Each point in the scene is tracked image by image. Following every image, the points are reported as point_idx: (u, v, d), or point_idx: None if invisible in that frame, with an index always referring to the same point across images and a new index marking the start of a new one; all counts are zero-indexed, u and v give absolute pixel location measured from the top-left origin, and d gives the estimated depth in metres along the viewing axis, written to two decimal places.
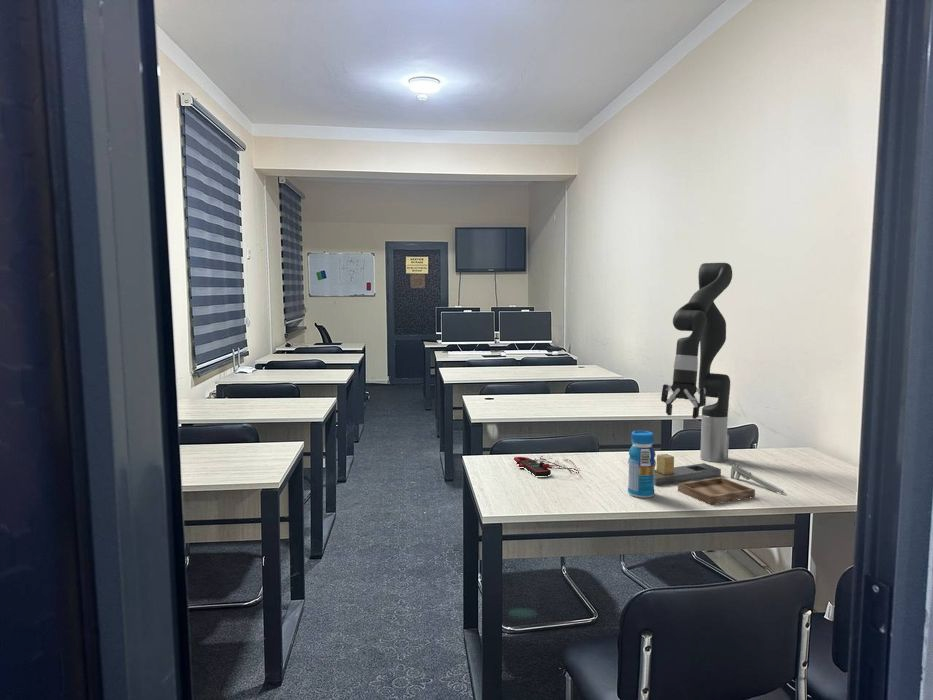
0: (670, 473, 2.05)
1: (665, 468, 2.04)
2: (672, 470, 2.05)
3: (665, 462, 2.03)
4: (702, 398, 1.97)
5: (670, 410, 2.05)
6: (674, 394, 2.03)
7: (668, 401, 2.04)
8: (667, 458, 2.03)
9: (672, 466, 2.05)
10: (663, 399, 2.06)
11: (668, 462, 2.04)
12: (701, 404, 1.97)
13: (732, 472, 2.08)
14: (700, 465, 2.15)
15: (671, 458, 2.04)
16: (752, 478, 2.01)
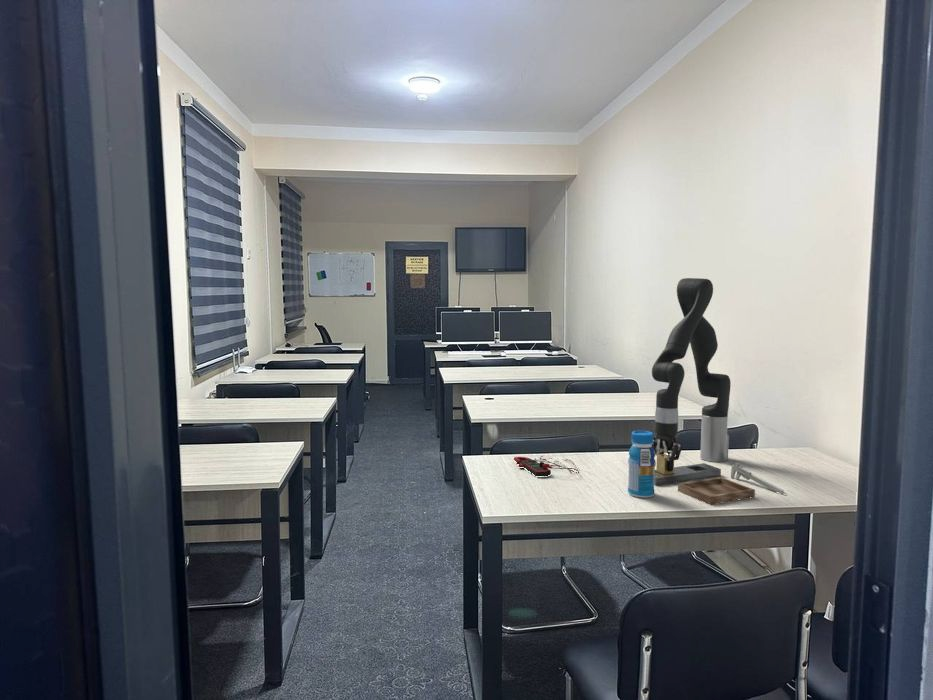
0: (670, 473, 2.05)
1: (665, 468, 2.04)
2: None
3: (665, 462, 2.03)
4: (673, 454, 2.00)
5: None
6: (658, 445, 2.06)
7: (657, 454, 2.07)
8: None
9: None
10: None
11: None
12: (671, 459, 2.01)
13: (732, 472, 2.08)
14: (700, 465, 2.15)
15: None
16: (752, 478, 2.01)
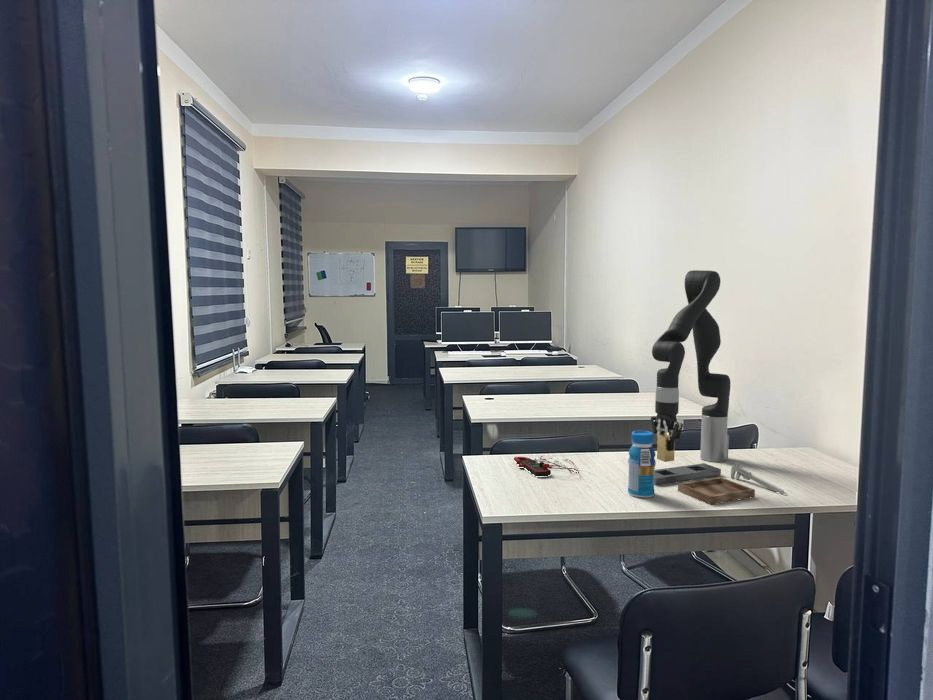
0: (671, 453, 2.04)
1: (665, 448, 2.03)
2: (673, 450, 2.04)
3: (666, 442, 2.03)
4: (674, 433, 1.99)
5: None
6: (658, 425, 2.06)
7: (658, 434, 2.07)
8: None
9: None
10: (654, 431, 2.09)
11: None
12: (672, 438, 2.00)
13: (732, 472, 2.07)
14: (700, 465, 2.15)
15: None
16: (752, 478, 2.00)
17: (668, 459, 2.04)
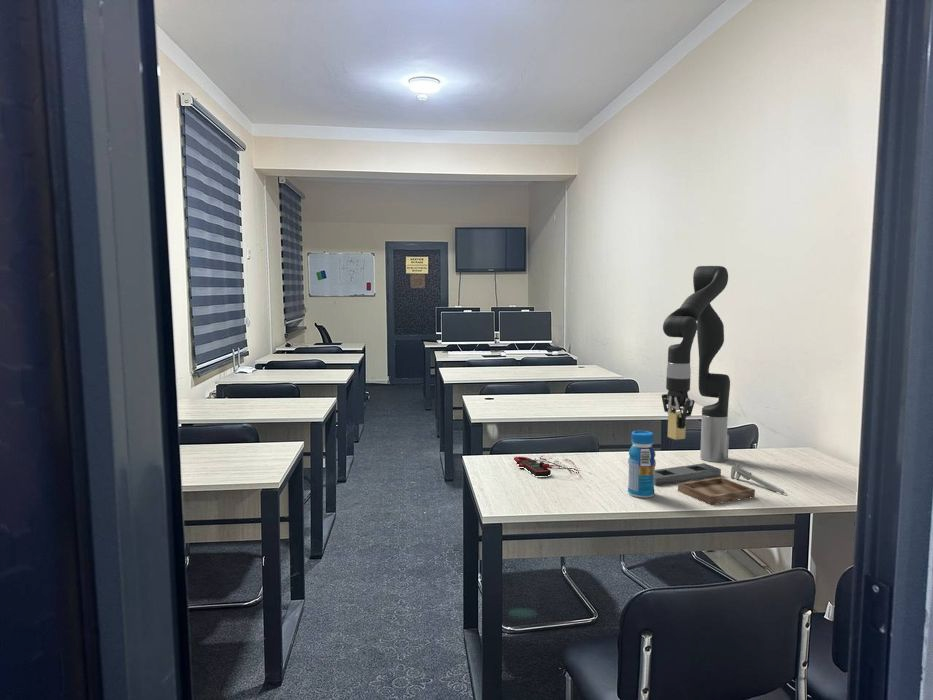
0: (682, 430, 2.00)
1: (676, 425, 1.99)
2: None
3: (677, 419, 1.99)
4: (685, 410, 1.95)
5: None
6: (669, 403, 2.02)
7: None
8: None
9: None
10: (665, 409, 2.04)
11: None
12: (683, 415, 1.96)
13: (732, 472, 2.07)
14: (700, 465, 2.15)
15: None
16: (752, 478, 2.00)
17: (679, 437, 1.99)
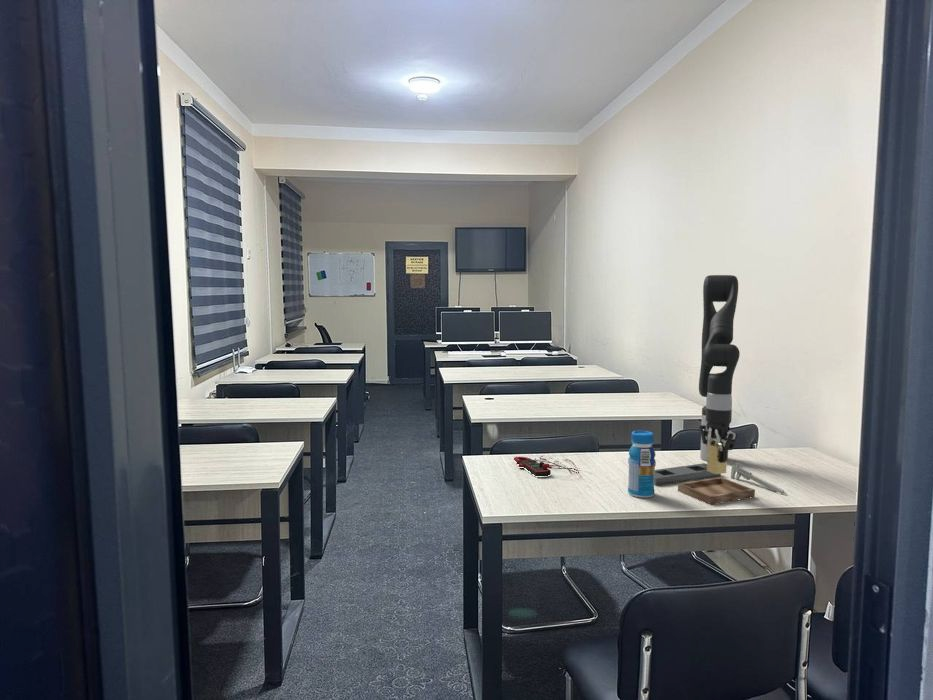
0: (723, 464, 1.89)
1: (717, 459, 1.88)
2: None
3: (718, 453, 1.88)
4: (728, 443, 1.84)
5: None
6: (709, 435, 1.91)
7: (708, 444, 1.92)
8: None
9: None
10: (704, 441, 1.94)
11: None
12: (725, 448, 1.85)
13: (732, 472, 2.07)
14: (700, 465, 2.15)
15: None
16: (752, 478, 2.00)
17: (720, 471, 1.89)
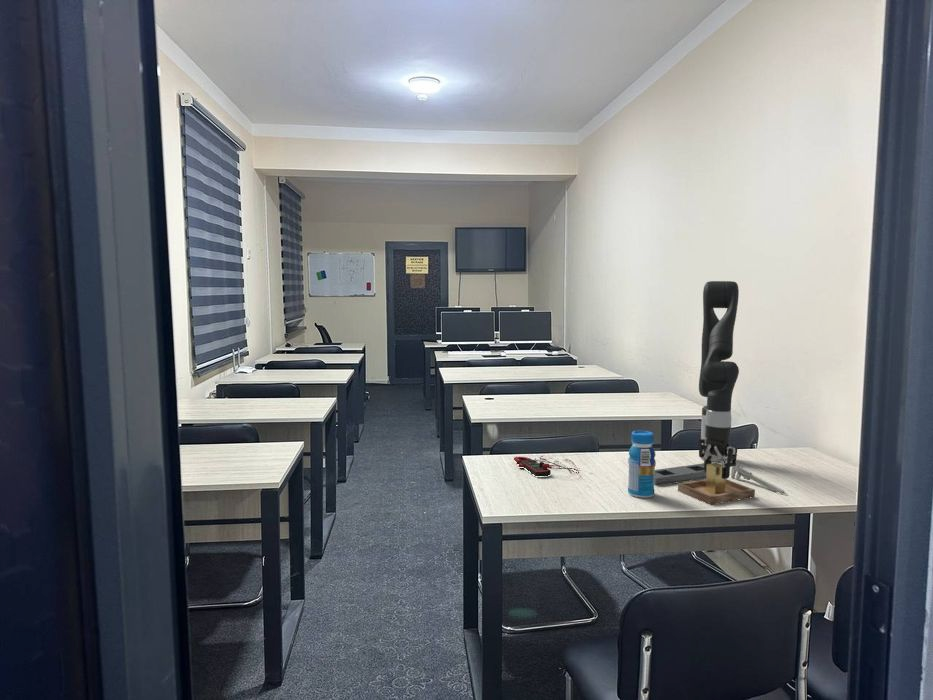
0: (721, 484, 1.90)
1: (716, 479, 1.89)
2: (724, 480, 1.90)
3: (717, 472, 1.89)
4: (729, 459, 1.84)
5: None
6: (707, 450, 1.92)
7: (704, 458, 1.94)
8: (719, 467, 1.89)
9: None
10: (700, 455, 1.95)
11: (719, 472, 1.89)
12: (728, 465, 1.85)
13: (733, 472, 2.07)
14: (700, 465, 2.15)
15: None
16: (753, 478, 2.00)
17: (719, 490, 1.90)
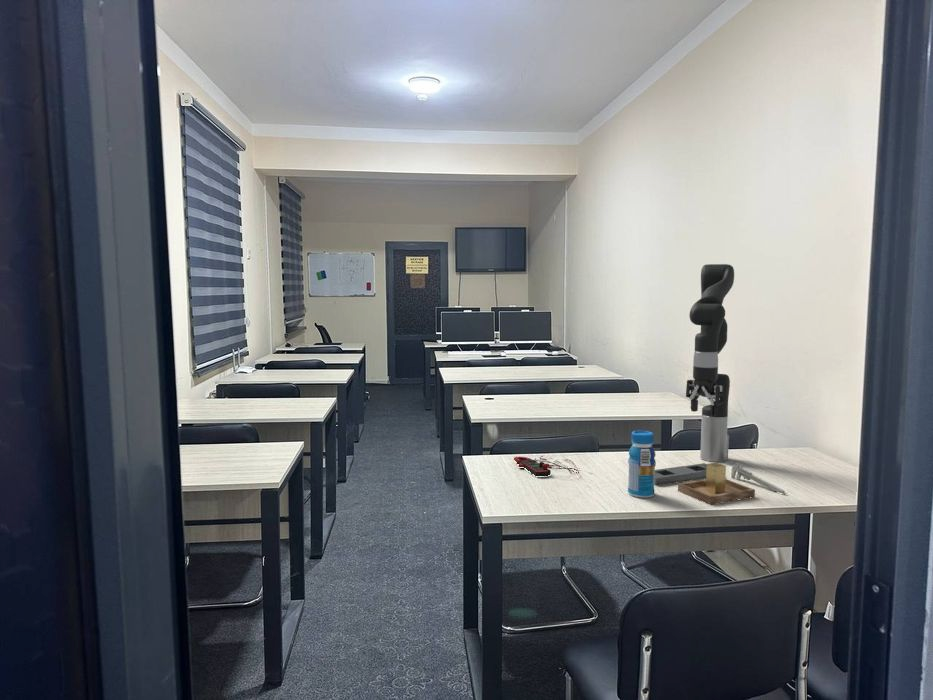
0: (721, 484, 1.90)
1: (716, 479, 1.89)
2: (724, 480, 1.90)
3: (717, 472, 1.89)
4: (717, 396, 1.90)
5: (694, 406, 2.01)
6: (695, 391, 1.98)
7: (691, 397, 2.01)
8: (719, 467, 1.89)
9: (724, 476, 1.90)
10: (687, 395, 2.02)
11: (719, 472, 1.89)
12: (716, 402, 1.90)
13: (733, 472, 2.07)
14: (700, 465, 2.15)
15: (723, 467, 1.89)
16: (753, 478, 2.00)
17: (719, 490, 1.90)
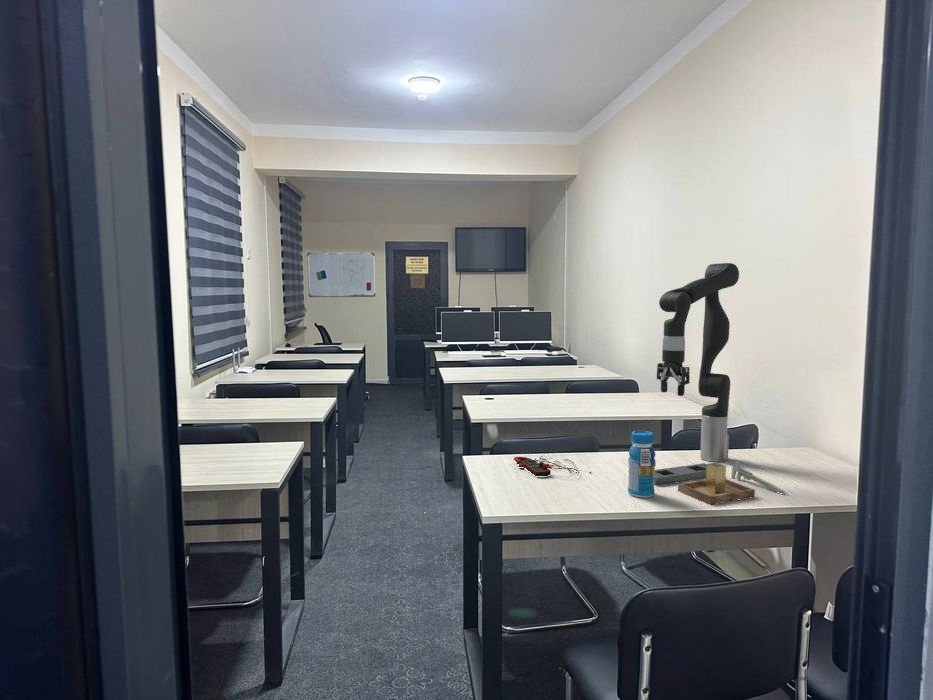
0: (721, 484, 1.90)
1: (716, 479, 1.89)
2: (724, 480, 1.90)
3: (717, 472, 1.89)
4: (683, 377, 2.07)
5: (664, 387, 2.18)
6: (664, 372, 2.15)
7: (661, 379, 2.18)
8: (719, 467, 1.89)
9: (724, 476, 1.90)
10: (658, 377, 2.19)
11: (719, 472, 1.89)
12: (682, 382, 2.08)
13: (733, 472, 2.07)
14: (700, 465, 2.15)
15: (723, 467, 1.89)
16: (753, 478, 2.00)
17: (719, 490, 1.90)
